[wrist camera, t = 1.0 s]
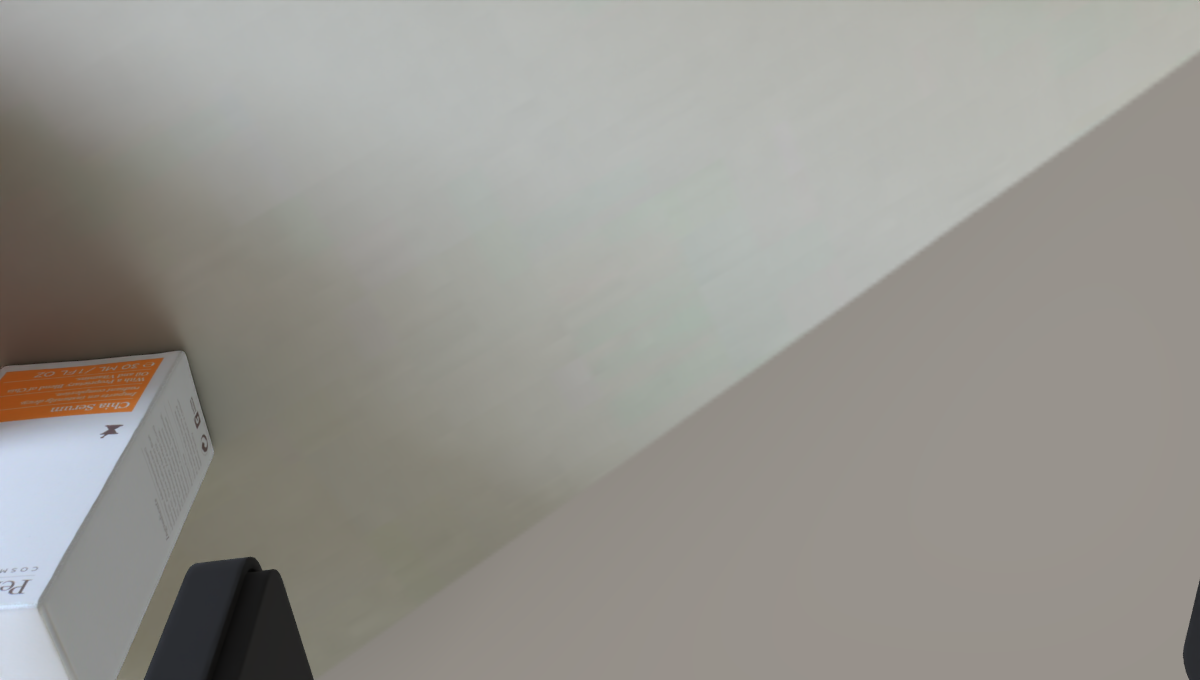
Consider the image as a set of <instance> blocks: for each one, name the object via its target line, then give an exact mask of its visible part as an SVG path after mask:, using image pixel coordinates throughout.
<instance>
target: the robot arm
mask: <svg viewBox="0 0 1200 680" xmlns="http://www.w3.org/2000/svg"><path fill="white" fill-rule="evenodd" d="M1183 658H1184V665H1185V669H1186V673H1187V675H1188V678H1189V680H1200V581H1199V586H1198V590H1197V594H1196V598H1195V603H1194V607H1193V611H1192V615H1191V619H1190V623H1189V628H1188V632H1187V636H1186V640H1185V644H1184V650H1183ZM144 680H314V679H313V676H312V673H311V669H310V666H309V663H308V660H307V657H306V653H305V650H304V647H303V644H302V641H301V638H300V634H299V631H298V628H297V625H296V622H295V619H294V615H293V612H292V609H291V606H290V603H289V600H288V596H287V593H286V590H285V587H284V584H283V580H282V578H281V576H280V574H279V572H278V571H277V570H274V569H272V570H264V571H262V569H261V566H260V564H259V562H258V561H257V560H256V559H255V558H253V557H245V558H237V559H229V560H221V561H212V562H204V563H196V564H194V565H192V566H191V567H190V568H189V570H188V571H187V573H186V575H185V578H184V580H183V583H182V585H181V588H180V590H179V593H178V595H177V598H176V600H175V603H174V605H173V608H172V610H171V613H170V615H169V618H168V620H167V623H166V625H165V628H164V630H163V633H162V635H161V638H160V640H159V643H158V646H157V648H156V651H155V653H154V656H153V658H152V661H151V663H150V666H149V668H148V671H147V673H146V676H145V678H144Z"/></svg>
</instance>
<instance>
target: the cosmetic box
mask: <svg viewBox="0 0 1200 680" xmlns="http://www.w3.org/2000/svg"><path fill="white" fill-rule="evenodd" d="M213 455H214V450H213V446H212V443H211V439H210V436H209V433H208V429H207V426H206V422H205V419H204V416H203V413H202V409H201V406H200V402H199V399H198V395H197V392H196V388H195V385H194V381H193V378H192V374H191V371H190V367H189V363H188V360H187V357H186V354H185V352H183V351H172V352H165V353H159V354H150V355H136V356H126V357H116V358H107V359H96V360H87V361H71V362H57V363H42V364H29V365H12V366H5V367H3V368H2V369H1V370H0V680H116V678H117V676H118V674H119V671H120V669H121V667H122V665H123V663H124V660H125V658H126V656H127V653H128V651H129V649H130V646H131V644H132V642H133V640H134V637H135V635H136V633H137V630H138V628H139V626H140V623H141V621H142V619H143V616H144V614H145V612H146V610H147V607H148V605H149V603H150V600H151V598H152V596H153V594H154V591H155V589H156V587H157V585H158V583H159V580H160V578H161V575H162V573H163V571H164V568H165V566H166V564H167V562H168V559H169V557H170V555H171V552H172V550H173V548H174V546H175V543H176V541H177V538H178V536H179V534H180V531H181V529H182V527H183V524H184V522H185V520H186V518H187V515H188V513H189V511H190V508H191V506H192V504H193V502H194V499H195V497H196V495H197V492H198V490H199V488H200V486H201V483H202V481H203V479H204V476H205V474H206V472H207V469H208V467H209V465H210V463H211V460H212V458H213Z"/></svg>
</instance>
